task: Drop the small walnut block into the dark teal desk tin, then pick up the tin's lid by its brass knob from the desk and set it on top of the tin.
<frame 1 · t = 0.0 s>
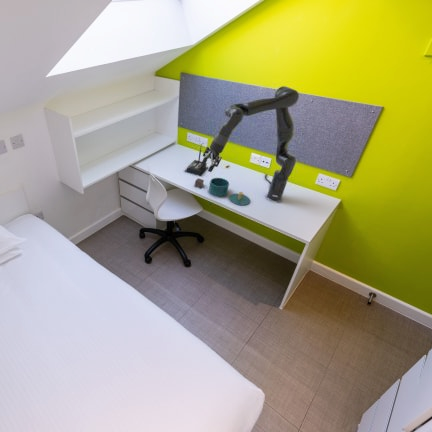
hand: (206, 168, 171), 31 cm above the table, tool tilted 20°, fingers open, 8 cm apart
lid: (239, 199, 200), point 1 cm above the table
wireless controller: (197, 168, 237), on the table
tin: (217, 192, 208), on the table
block: (198, 185, 215), on the table
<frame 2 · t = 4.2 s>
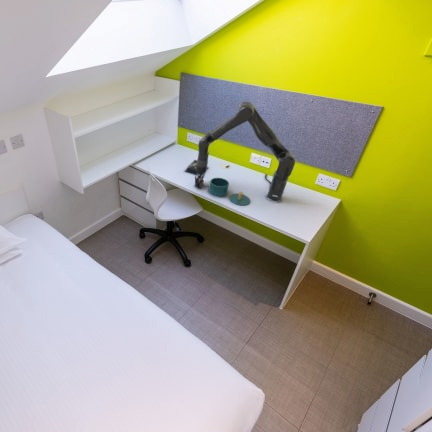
hand: (198, 185, 215), 0 cm above the table, tool pointing down, fingers closed on block, 4 cm apart
block: (198, 185, 215), on the table, touching gripper
everything else where it was.
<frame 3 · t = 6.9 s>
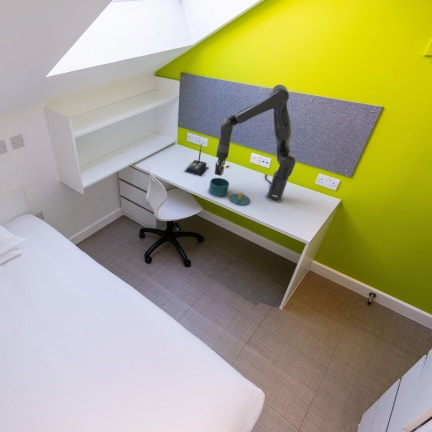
hand: (219, 173, 200), 15 cm above the table, tool pointing down, fingers closed on block, 4 cm apart
block: (218, 173, 201), point 14 cm above the table, touching gripper
everything else where it was.
when the fingers open (6 cm above the table, at t = 9.7 s): block drops 5 cm, resting on tin.
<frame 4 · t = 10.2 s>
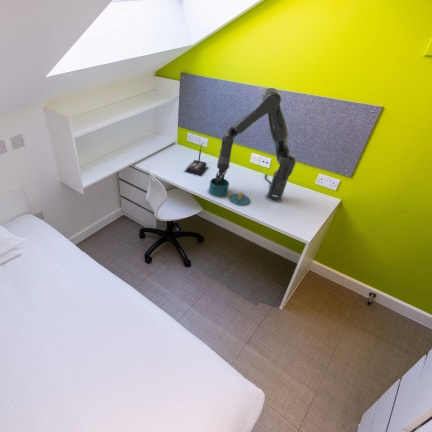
hand: (219, 182, 203), 8 cm above the table, tool pointing down, fingers open, 8 cm apart
block: (217, 192, 208), resting on tin
everything else where it was.
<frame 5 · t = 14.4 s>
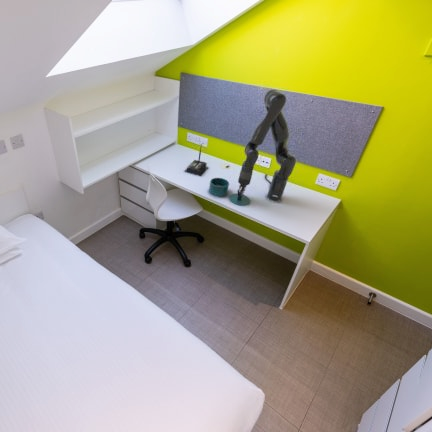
hand: (239, 198, 200), 2 cm above the table, tool pointing down, fingers closed on lid, 2 cm apart
lid: (239, 199, 200), point 1 cm above the table, touching gripper
everything else where it was.
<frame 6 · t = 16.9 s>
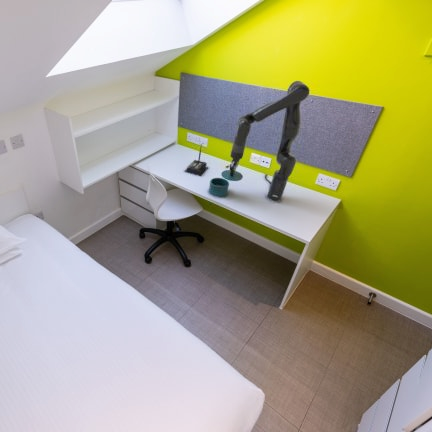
hand: (232, 174, 194), 17 cm above the table, tool pointing down, fingers closed on lid, 2 cm apart
lid: (231, 175, 195), point 16 cm above the table, touching gripper
everything else where it was.
when the fingers open (9 cm above the table, at t = 19.7 s): lid stays where it is, resting on tin.
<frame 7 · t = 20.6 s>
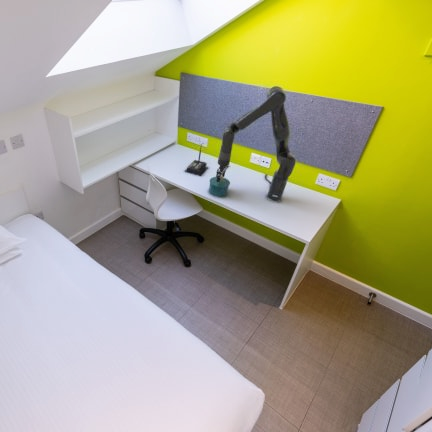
hand: (220, 179, 202), 11 cm above the table, tool pointing down, fingers open, 8 cm apart
lid: (219, 182, 203), point 8 cm above the table, touching tin
everything else where it was.
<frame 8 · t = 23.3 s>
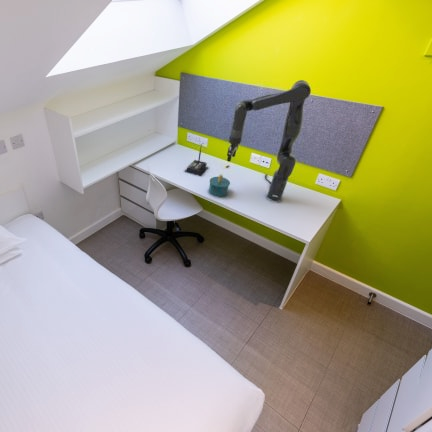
hand: (231, 158, 195), 25 cm above the table, tool pointing down, fingers open, 8 cm apart
nothing on the table moved.
at the end: block inside the target area in the tin (0.1 cm from its centre), point 0.5 cm above the tin's base; lid 0.1 cm off-centre on the tin, point 8.5 cm above the tin's base; lid tilted 0° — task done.
